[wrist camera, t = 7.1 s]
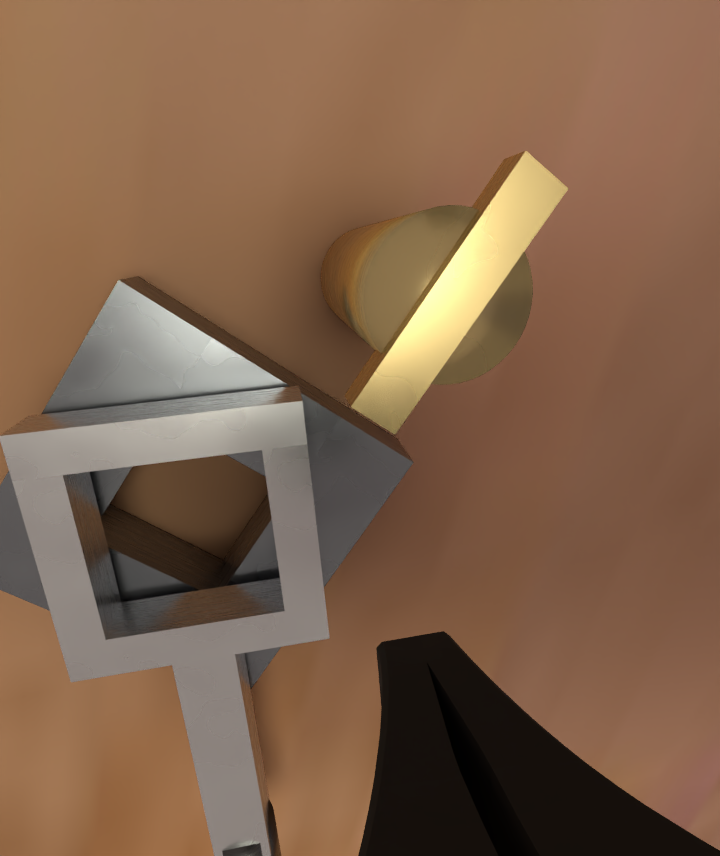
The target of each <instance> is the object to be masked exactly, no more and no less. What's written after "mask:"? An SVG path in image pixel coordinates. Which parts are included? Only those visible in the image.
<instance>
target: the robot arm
mask: <svg viewBox="0 0 720 856" xmlns="http://www.w3.org/2000/svg"><path fill="white" fill-rule="evenodd" d="M377 660H378V671H379V683H380V694H381V706H382V711H381V728H380V739H379V747H378V755H377V762H376V770H375V777H374V783H373V789H372V795H371V800H370V806H369V811H368V816H367V820H366V825H365V830H364V835H363V839H362V843H361V847H360V851H359V855H358V856H720V851H719V850H718V849H716V848H714V847H713V846H711V845H709V844H707V843H706V842H704V841H702V840H701V839H699V838H697V837H696V836H694V835H693V834H691V833H689V832H688V831H686V830H685V829H683V828H681V827H680V826H678V825H676V824H675V823H673V822H672V821H670V820H668V819H667V818H665V817H664V816H662V815H660V814H659V813H657V812H656V811H654V810H652V809H651V808H649V807H647V806H646V805H644V804H643V803H641V802H640V801H638V800H637V799H636V798H634V797H633V796H631V795H630V794H628V793H627V792H625V791H624V790H622V789H621V788H620V787H618V786H617V785H615V784H614V783H613V782H611V781H610V780H608V779H607V778H606V777H604V776H603V775H602V774H600V773H599V772H598V771H596V770H595V769H593V768H592V767H591V766H589V765H588V764H587V763H586V762H584V761H583V760H582V759H580V758H579V757H578V756H577V755H575V754H574V753H573V752H572V751H570V750H569V749H568V748H567V747H565V746H564V745H563V744H562V743H561V742H559V741H558V740H557V739H556V738H555V737H553V736H552V735H551V734H550V733H549V732H547V731H546V730H545V729H544V728H543V727H542V726H540V725H539V724H538V723H537V722H536V721H535V720H534V719H532V718H531V717H530V716H529V715H528V714H527V713H526V712H525V711H524V710H522V709H521V708H520V707H519V706H518V705H517V704H516V703H515V702H514V701H513V700H512V699H511V698H510V697H509V696H508V695H506V694H505V693H504V692H503V691H502V690H501V689H500V688H499V687H498V686H497V685H496V684H495V683H494V682H493V681H492V680H491V679H490V678H489V677H488V676H487V675H486V674H485V673H484V672H483V671H482V670H481V669H480V668H479V667H478V666H477V665H476V664H475V663H474V662H473V661H472V660H471V659H470V657H469V656H468V655H467V654H466V653H465V652H464V651H463V650H462V649H461V648H460V647H459V646H458V644H457V643H456V642H455V641H454V640H453V639H452V638H451V637H450V636H449V635H448V634H447V633H445V632H444V631H443V632H437V633H431V634H426V635H420V636H414V637H408V638H402V639H396V640H391V641H385V642H382V643H381V644H380V645H379V646H378V647H377Z"/></svg>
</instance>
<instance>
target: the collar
mask: <svg viewBox="0 0 720 856" xmlns="http://www.w3.org/2000/svg"><path fill="white" fill-rule="evenodd" d="M0 442H1V445H2V448H3V452H4V455H5V459H6V462H7V465H8V469H9V472H10V476H11V479H12V483H13V486H14V489H15V493H16V496H17V500H18V503H19V506H20V510H21V513H22V517H23V520H24V524H25V527H26V530H27V534H28V537H29V541H30V544H31V547H32V551H33V554H34V558H35V561H36V565H37V568H38V571H39V575H40V578H41V582H42V585H43V588H44V592H45V595H46V599H47V602H48V606H49V609H50V612H51V616H52V619H53V623H54V626H55V629H56V633H57V636H58V640H59V643H60V647H61V650H62V653H63V657H64V660H65V664H66V667H67V671H68V674H69V677H70V681H71V682H75V681H81V680H87V679H93V678H99V677H105V676H111V675H117V674H122V673H128V672H134V671H140V670H146V669H152V668H158V667H164V666H170V665H172V667H173V671H174V676H175V680H176V685H177V689H178V694H179V698H180V703H181V707H182V712H183V716H184V721H185V725H186V730H187V734H188V739H189V743H190V748H191V752H192V757H193V761H194V766H195V770H196V775H197V779H198V784H199V788H200V793H201V797H202V802H203V806H204V811H205V816H206V820H207V825H208V829H209V834H210V838H211V843H212V847H213V852H214V856H281V851H280V845H279V839H278V833H277V827H276V821H275V816H274V810H273V806H272V804H271V802H270V800H269V794H268V788H267V782H266V777H265V771H264V765H263V759H262V753H261V747H260V742H259V736H258V730H257V724H256V718H255V713H254V707H253V701H252V695H251V689H250V684H249V678H248V672H247V666H246V660H245V654H244V653H247V652H253V651H259V650H264V649H270V648H276V647H282V646H288V645H294V644H300V643H306V642H312V641H318V640H324V639H329V629H328V621H327V612H326V603H325V594H324V586H323V577H322V568H321V559H320V551H319V542H318V533H317V524H316V516H315V507H314V498H313V489H312V481H311V472H310V463H309V454H308V446H307V437H306V428H305V419H304V411H303V402H302V397H301V393H300V389H299V385H298V386H289V387H280V388H271V389H262V390H253V391H245V392H236V393H227V394H218V395H209V396H200V397H191V398H182V399H174V400H165V401H156V402H147V403H138V404H129V405H120V406H111V407H103V408H94V409H85V410H76V411H67V412H58V413H49V414H40V415H31V416H28V417H26V418H25V419H23V420H22V421H20V422H19V423H17V424H16V425H14V426H13V427H11V428H10V429H9V430H7V431H6V432H4V433H3V434H1V435H0ZM258 450H262V454H263V461H264V468H265V475H266V482H267V489H268V496H269V504H270V511H271V518H272V525H273V532H274V539H275V546H276V553H277V560H278V567H279V574H280V578H276V579H269V580H263V581H256V582H250V583H243V584H237V585H230V586H224V587H217V588H211V589H204V590H198V591H191V592H185V593H178V594H172V595H165V596H159V597H152V598H146V599H139V600H133V601H126V602H121V598H120V594H119V590H118V586H117V582H116V578H115V574H114V570H113V566H112V562H111V558H110V554H109V549H108V545H107V541H106V537H105V533H104V529H103V525H102V521H101V517H100V513H99V509H98V505H97V501H96V496H95V492H94V488H93V484H92V480H91V476H90V472H91V471H99V470H107V469H115V468H123V467H131V466H139V465H147V464H155V463H163V462H171V461H179V460H187V459H195V458H203V457H211V456H218V455H226V454H234V453H242V452H250V451H258Z"/></svg>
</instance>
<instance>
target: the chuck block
mask: <svg viewBox="0 0 720 856" xmlns="http://www.w3.org/2000/svg"><path fill="white" fill-rule="evenodd" d="M298 385H299V389H300V393H301V397H302V402H303V411H304V419H305V428H306V437H307V446H308V454H309V463H310V472H311V481H312V489H313V498H314V507H315V516H316V524H317V533H318V542H319V551H320V559H321V568H322V577H323V586H325V585H326V584H327V582H328V581H329V579H330V578H331V577H332V575H333V574H334V572H335V571H336V570H337V568H338V567H339V565H340V564H341V563H342V561H343V560H344V558H345V557H346V556H347V554H348V553H349V551H350V550H351V549H352V547H353V546H354V545H355V543H356V542H357V540H358V539H359V538H360V536H361V535H362V533H363V532H364V531H365V529H366V528H367V526H368V525H369V524H370V522H371V521H372V519H373V518H374V517H375V515H376V514H377V512H378V511H379V510H380V508H381V507H382V506H383V504H384V503H385V501H386V500H387V499H388V497H389V496H390V494H391V493H392V492H393V490H394V489H395V487H396V486H397V485H398V483H399V482H400V480H401V479H402V478H403V476H404V475H405V473H406V472H407V471H408V469H409V468H410V466H411V465H412V464H413V461H412V460H411V458H410V457H409V455H408V454H407V452H406V451H405V449H404V448H403V447H402V445H401V444H400V442H399V441H398V439H397V438H395V437H393V436H392V435H390V434H389V433H387V432H385V431H384V430H382V429H381V428H379V427H377V426H376V425H374V424H373V423H371V422H369V421H368V420H366V419H365V418H363V417H362V416H360V415H358V414H357V413H355V412H354V411H352V410H350V409H349V408H347V407H346V406H344V405H342V404H341V403H339V402H338V401H336V400H334V399H333V398H331V397H330V396H328V395H326V394H325V393H323V392H322V391H320V390H318V389H317V388H315V387H314V386H312V385H310V384H309V383H307V382H306V381H304V380H303V379H301V378H299V377H298V376H296V375H295V374H293V373H291V372H290V371H288V370H287V369H285V368H283V367H282V366H280V365H279V364H277V363H275V362H274V361H272V360H271V359H269V358H267V357H266V356H264V355H263V354H261V353H259V352H258V351H256V350H255V349H253V348H251V347H250V346H248V345H247V344H245V343H243V342H242V341H240V340H239V339H237V338H236V337H234V336H232V335H231V334H229V333H228V332H226V331H224V330H223V329H221V328H220V327H218V326H216V325H215V324H213V323H212V322H210V321H208V320H207V319H205V318H204V317H202V316H200V315H199V314H197V313H196V312H194V311H192V310H191V309H189V308H188V307H186V306H184V305H183V304H181V303H180V302H178V301H176V300H175V299H173V298H172V297H170V296H169V295H167V294H165V293H164V292H162V291H161V290H159V289H157V288H156V287H154V286H153V285H151V284H149V283H148V282H146V281H145V280H143V279H141V278H140V277H138V276H137V277H132V278H127V279H122V280H118V282H117V284H116V285H115V287H114V289H113V291H112V292H111V294H110V296H109V298H108V299H107V301H106V303H105V304H104V306H103V308H102V310H101V311H100V313H99V315H98V317H97V318H96V320H95V322H94V324H93V325H92V327H91V329H90V331H89V332H88V334H87V336H86V338H85V339H84V341H83V343H82V344H81V346H80V348H79V350H78V351H77V353H76V355H75V357H74V358H73V360H72V362H71V364H70V365H69V367H68V369H67V371H66V372H65V374H64V376H63V378H62V379H61V381H60V383H59V384H58V386H57V388H56V390H55V391H54V393H53V395H52V397H51V398H50V400H49V402H48V404H47V405H46V407H45V409H44V411H43V412H42V414H49V413H58V412H67V411H76V410H85V409H94V408H103V407H111V406H120V405H129V404H138V403H147V402H156V401H165V400H174V399H182V398H191V397H200V396H209V395H218V394H227V393H236V392H245V391H253V390H262V389H271V388H280V387H289V386H298ZM226 455H227V456H229V457H231V458H233V459H235V460H236V461H238V462H240V463H242V464H244V465H245V466H247V467H249V468H251V469H253V470H254V471H256V472H258V473H260V474H262V475H263V476H265V477H266V475H265V468H264V461H263V454H262V450H258V451H250V452H242V453H234V454H226ZM132 467H133V466H131V467H123V468H115V469H107V470H99V471H91V472H90V476H91V480H92V484H93V488H94V492H95V496H96V501H97V505H98V509H99V513H100V517H101V521H102V525H103V529H104V533H105V537H106V541H107V545H108V549H109V554H110V558H111V562H112V566H113V570H114V574H115V578H116V582H117V586H118V590H119V594H120V598H121V602H126V601H133V600H139V599H146V598H152V597H159V596H165V595H172V594H178V593H185V592H191V591H198V590H204V589H211V588H217V587H224V586H230V585H237V584H243V583H250V582H256V581H263V580H269V579H276V578H280V574H279V567H278V560H277V553H276V546H275V539H274V532H273V525H272V518H271V511H270V504H269V496H268V495H267V496H266V498H265V499H264V501H263V502H262V504H261V505H260V506H259V508H258V509H257V511H256V512H255V514H254V515H253V517H252V518H251V520H250V521H249V523H248V524H247V526H246V527H245V529H244V530H243V532H242V533H241V535H240V536H239V538H238V539H237V541H236V542H235V544H234V545H233V547H232V548H231V550H230V551H229V553H228V554H227V555H226V557H225V558H224V560H221V559H219V558H217V557H215V556H213V555H211V554H209V553H207V552H205V551H203V550H201V549H199V548H197V547H195V546H193V545H191V544H189V543H187V542H185V541H183V540H181V539H179V538H177V537H175V536H173V535H171V534H169V533H167V532H164V531H162V530H160V529H158V528H156V527H154V526H152V525H150V524H148V523H146V522H144V521H142V520H140V519H138V518H136V517H134V516H132V515H130V514H128V513H126V512H124V511H122V510H120V509H118V508H116V507H114V506H112V505H110V502H111V501H112V499H113V498H114V496H115V494H116V493H117V491H118V490H119V488H120V486H121V485H122V483H123V481H124V480H125V478H126V477H127V475H128V473H129V472H130V470H131V469H132ZM0 590H2V591H4V592H7V593H9V594H11V595H14V596H16V597H19V598H21V599H23V600H26V601H28V602H30V603H33V604H35V605H38V606H40V607H42V608H45V609H47V610H49V611H50V609H49V606H48V602H47V599H46V595H45V592H44V588H43V585H42V582H41V578H40V575H39V571H38V568H37V565H36V561H35V558H34V554H33V551H32V547H31V544H30V541H29V537H28V534H27V530H26V527H25V524H24V520H23V517H22V513H21V510H20V506H19V503H18V500H17V496H16V493H15V489H14V486H13V483H12V479H11V476H10V472H9V471H8V473H7V475H6V477H5V478H4V480H3V482H2V484H1V485H0ZM280 648H281V647H276V648H270V649H264V650H259V651H253V652H247V653H244V654H245V660H246V666H247V672H248V678H249V684H250V689H251V688H252V687H253V685H254V684H255V682H256V681H257V680H258V678H259V677H260V675H261V674H262V673H263V671H264V670H265V669H266V667H267V666H268V664H269V663H270V662H271V660H272V659H273V657H274V656H275V655H276V653H277V652H278V650H279V649H280Z"/></svg>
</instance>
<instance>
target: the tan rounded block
mask: <svg viewBox="0 0 720 856" xmlns="http://www.w3.org/2000/svg"><path fill="white" fill-rule="evenodd" d="M567 190H568V188H567V187H566V186H565V185H564V184H563V183H562V182H560V181H559V180H558V179H557V178H556V177H555V176H554V175H552V174H551V173H550V172H549V171H548V170H547V169H546V168H545V167H543V166H542V165H541V164H540V163H539V162H538V161H537V160H536V159H534V158H533V157H532V156H531V155H530V154H529V153H528V152H527V151H524V152H521V153H519V154H516V155H514V156H511V157H509V158H506V159H504V160H503V162H502V163H501V165H500V166H499V168H498V169H497V171H496V172H495V174H494V175H493V177H492V178H491V180H490V181H489V183H488V184H487V186H486V187H485V189H484V190H483V191H482V193H481V194H480V196H479V197H478V199H477V200H476V202H475V203H474V205H473V206H472V207H466V206H459V205H447V206H439V207H434V208H431V209H427V210H423V211H419V212H416V213H412V214H408V215H405V216H401V217H397V218H393V219H390V220H386V221H382V222H378V223H375V224H371V225H367V226H364V227H360V228H356V229H353V230H351V231H348V232H347V233H345V234H343V235H342V236H341V237H339V238H338V239H337V240H336V241H335V242H334V243H333V244H332V246H331V247H330V248H329V250H328V252H327V254H326V256H325V258H324V261H323V264H322V268H321V287H322V291H323V295H324V297H325V300H326V302H327V303H328V305H329V307H330V308H331V309H332V311H333V312H334V313H335V314H336V315H337V316H338V317H339V318H340V319H341V320H342V321H344V322H345V323H346V324H347V325H348V326H349V327H350V328H351V329H352V330H353V331H354V332H356V333H357V334H358V335H359V336H360V337H361V338H362V339H363V340H364V341H365V342H367V343H368V344H369V345H370V346H371V347H372V348H373V349H374V350H375V351H374V352H373V354H372V355H371V357H370V358H369V360H368V361H367V363H366V364H365V366H364V367H363V369H362V370H361V372H360V373H359V375H358V376H357V378H356V379H355V381H354V382H353V383H352V385H351V386H350V388H349V389H348V391H347V392H346V394H345V397H346V399H347V401H348V403H349V404H350V406H351V407H352V408H353V409H355V410H356V411H358V412H360V413H361V414H363V415H364V416H366V417H367V418H369V419H371V420H372V421H374V422H375V423H377V424H379V425H380V426H382V427H383V428H385V429H387V430H388V431H390V432H391V433H393V434H394V435H395V434H396V433H397V431H398V430H399V428H400V427H401V425H402V424H403V423H404V421H405V420H406V418H407V417H408V416H409V414H410V413H411V411H412V410H413V408H414V407H415V406H416V404H417V403H418V401H419V400H420V398H421V397H422V396H423V394H424V393H425V391H426V390H427V389H428V387H429V386H430V384H438V385H447V384H456V383H462V382H465V381H469V380H472V379H474V378H476V377H479V376H481V375H483V374H484V373H486V372H488V371H489V370H491V369H492V368H493V367H495V366H496V365H497V364H499V363H500V362H501V361H502V360H503V359H504V358H505V357H506V356H507V355H508V354H509V352H510V351H511V350H512V349H513V348H514V346H515V345H516V343H517V341H518V340H519V338H520V337H521V335H522V333H523V330H524V328H525V326H526V323H527V320H528V318H529V314H530V309H531V305H532V295H533V287H532V276H531V270H530V266H529V262H528V259H527V257H526V254H525V252H524V251H525V249H526V248H527V247H528V245H529V244H530V242H531V241H532V239H533V238H534V237H535V235H536V234H537V232H538V231H539V230H540V228H541V227H542V225H543V224H544V222H545V221H546V220H547V218H548V217H549V215H550V214H551V212H552V211H553V210H554V208H555V207H556V205H557V204H558V203H559V201H560V200H561V198H562V197H563V195H564V194H565V193H566V191H567Z"/></svg>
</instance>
